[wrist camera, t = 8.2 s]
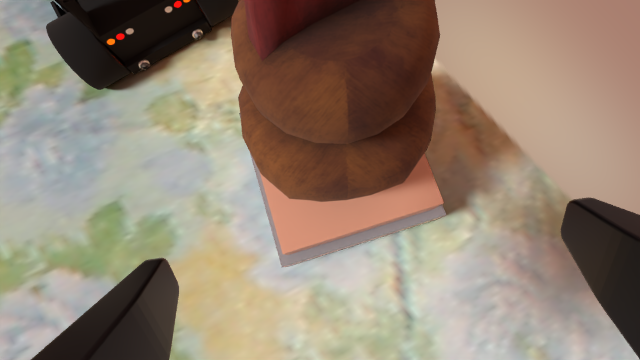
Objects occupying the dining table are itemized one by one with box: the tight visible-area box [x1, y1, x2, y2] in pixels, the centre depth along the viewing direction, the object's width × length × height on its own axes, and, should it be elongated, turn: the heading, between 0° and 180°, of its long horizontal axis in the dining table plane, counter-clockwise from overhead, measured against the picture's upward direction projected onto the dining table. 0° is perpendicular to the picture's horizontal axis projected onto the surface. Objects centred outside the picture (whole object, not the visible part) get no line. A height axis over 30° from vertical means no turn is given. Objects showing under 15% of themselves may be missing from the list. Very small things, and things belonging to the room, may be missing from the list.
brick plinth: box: [239, 113, 446, 267], centre depth 20 cm, size 9×9×4 cm
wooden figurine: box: [231, 0, 440, 202], centre depth 11 cm, size 7×6×15 cm
